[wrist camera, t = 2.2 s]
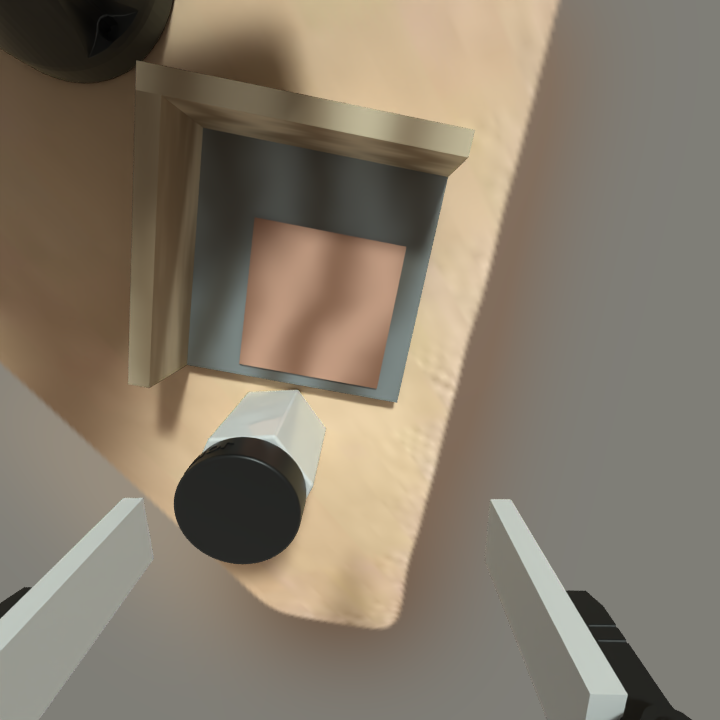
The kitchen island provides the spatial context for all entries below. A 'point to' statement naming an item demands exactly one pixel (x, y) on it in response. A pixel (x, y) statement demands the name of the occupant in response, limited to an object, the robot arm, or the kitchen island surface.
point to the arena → (279, 232)
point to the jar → (252, 479)
